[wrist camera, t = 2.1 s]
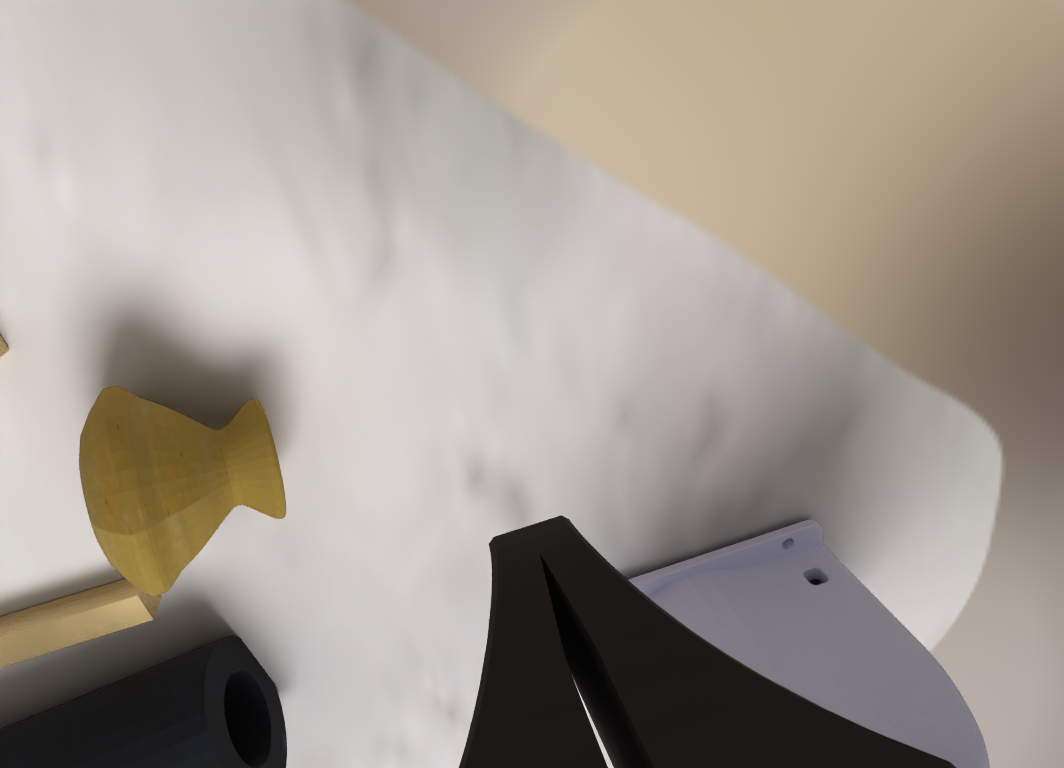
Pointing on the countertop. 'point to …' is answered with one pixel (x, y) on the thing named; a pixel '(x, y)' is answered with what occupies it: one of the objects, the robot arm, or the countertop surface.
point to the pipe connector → (162, 719)
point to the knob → (170, 482)
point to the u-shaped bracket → (72, 616)
